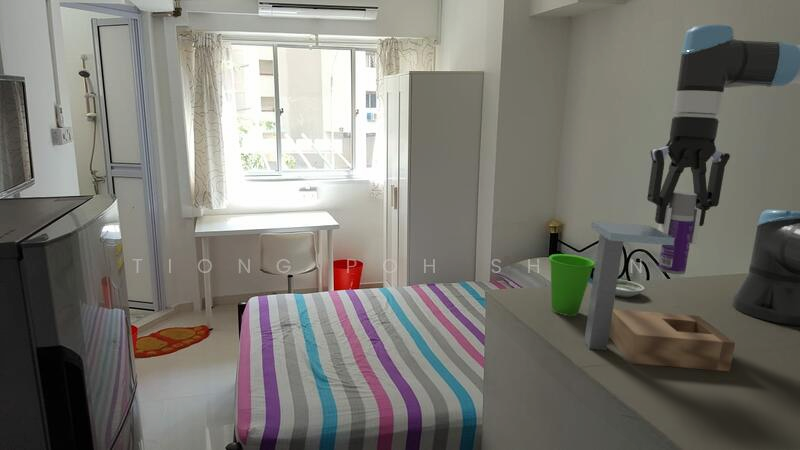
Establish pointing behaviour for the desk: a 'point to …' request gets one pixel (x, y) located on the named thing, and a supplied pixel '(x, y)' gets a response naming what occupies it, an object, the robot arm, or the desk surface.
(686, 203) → the container
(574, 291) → the cup
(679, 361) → the socket block
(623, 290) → the saucer
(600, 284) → the grey flat-topped post
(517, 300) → the desk surface
